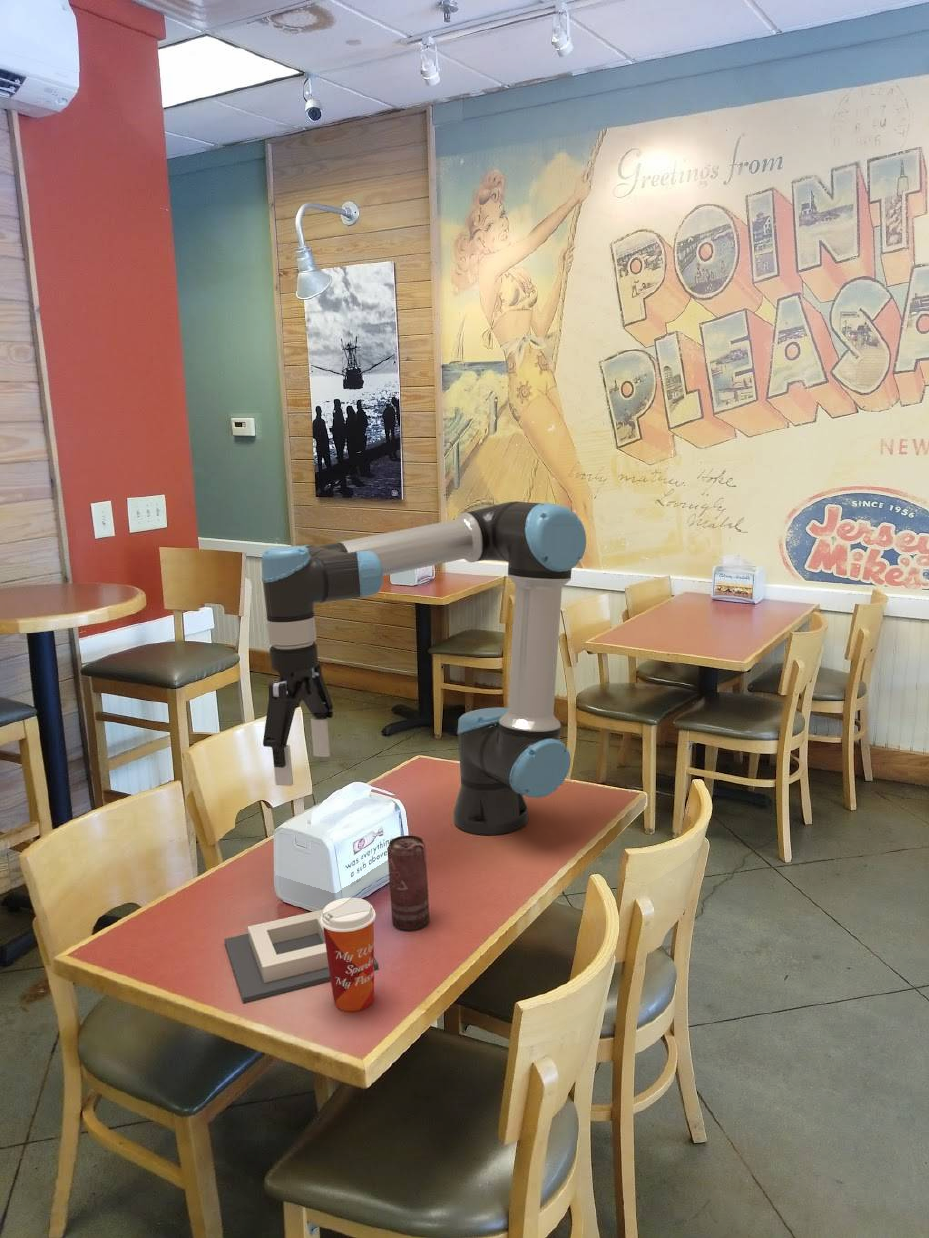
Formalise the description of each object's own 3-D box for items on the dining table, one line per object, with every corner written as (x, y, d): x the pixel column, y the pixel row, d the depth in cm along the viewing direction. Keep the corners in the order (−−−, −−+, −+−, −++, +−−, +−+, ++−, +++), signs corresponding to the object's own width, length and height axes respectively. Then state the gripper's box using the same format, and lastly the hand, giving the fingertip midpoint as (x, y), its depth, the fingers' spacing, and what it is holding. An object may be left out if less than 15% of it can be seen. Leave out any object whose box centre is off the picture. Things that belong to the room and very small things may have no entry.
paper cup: (343, 1023, 131) (336, 928, 129) (317, 998, 137) (309, 907, 135) (392, 1001, 136) (386, 909, 133) (364, 978, 142) (358, 890, 139)
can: (426, 932, 154) (421, 850, 151) (387, 930, 155) (382, 848, 153) (435, 914, 160) (430, 834, 157) (397, 911, 161) (392, 833, 158)
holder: (329, 922, 157) (328, 908, 156) (350, 961, 145) (349, 946, 145) (249, 941, 152) (247, 926, 152) (264, 982, 140) (262, 967, 140)
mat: (346, 915, 161) (346, 910, 161) (378, 968, 144) (378, 963, 144) (224, 943, 154) (224, 938, 153) (243, 1003, 137) (242, 998, 137)
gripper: (306, 627, 167) (316, 743, 172) (231, 662, 144) (245, 796, 148) (346, 627, 165) (355, 746, 169) (276, 663, 142) (289, 799, 146)
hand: (304, 769), depth 159 cm, fingers open, 13 cm apart
